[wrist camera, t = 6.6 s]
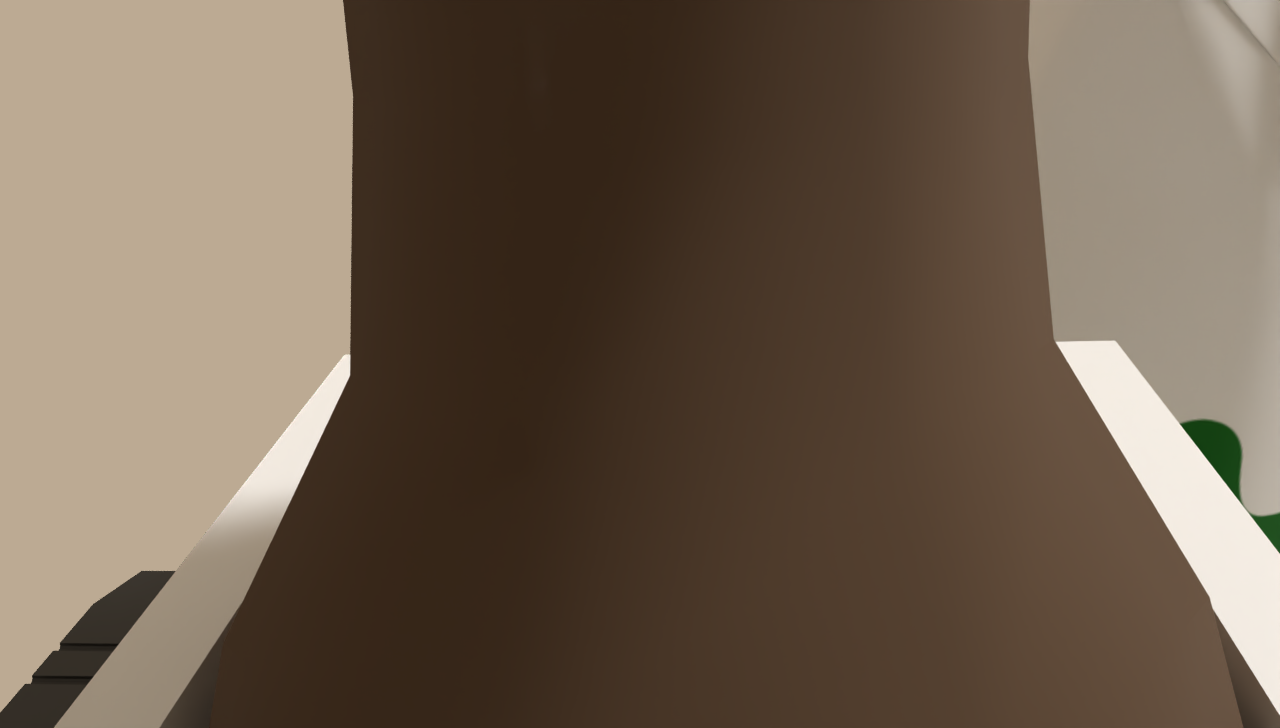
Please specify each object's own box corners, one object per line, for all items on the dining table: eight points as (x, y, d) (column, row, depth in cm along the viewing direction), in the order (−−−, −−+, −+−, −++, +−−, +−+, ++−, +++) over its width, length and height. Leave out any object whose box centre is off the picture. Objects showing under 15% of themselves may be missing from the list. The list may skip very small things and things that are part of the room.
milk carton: (1416, 842, 22) (1826, -343, 13) (988, 927, 20) (1133, -313, 12) (1155, 582, 29) (1305, -263, 21) (835, 632, 28) (857, -240, 20)
